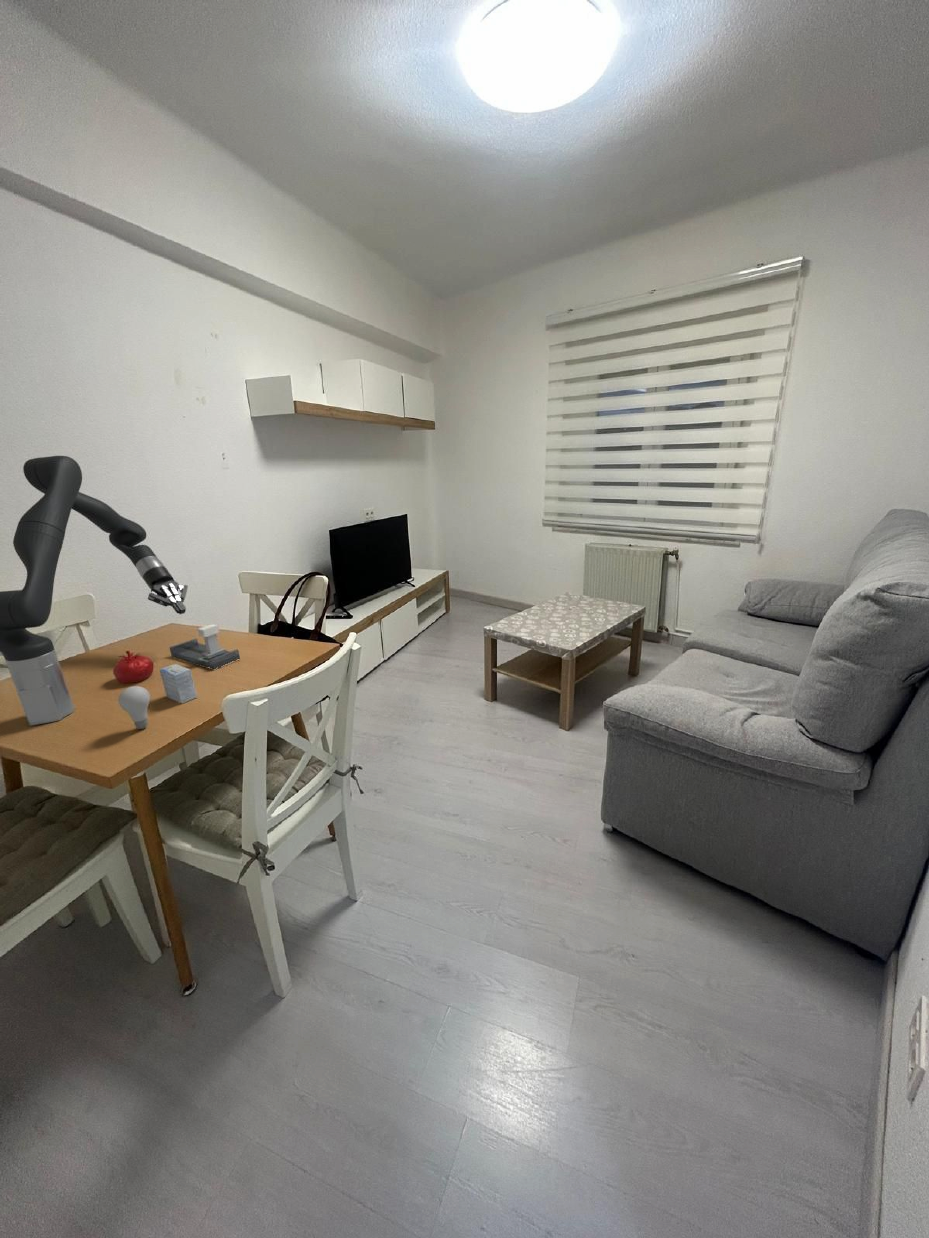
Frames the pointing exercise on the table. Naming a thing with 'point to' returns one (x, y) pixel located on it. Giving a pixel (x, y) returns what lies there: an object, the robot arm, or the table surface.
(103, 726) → the table surface
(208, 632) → the fader
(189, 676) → the medicine box
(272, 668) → the table surface
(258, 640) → the table surface
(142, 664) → the pomegranate
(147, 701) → the lightbulb
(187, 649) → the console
